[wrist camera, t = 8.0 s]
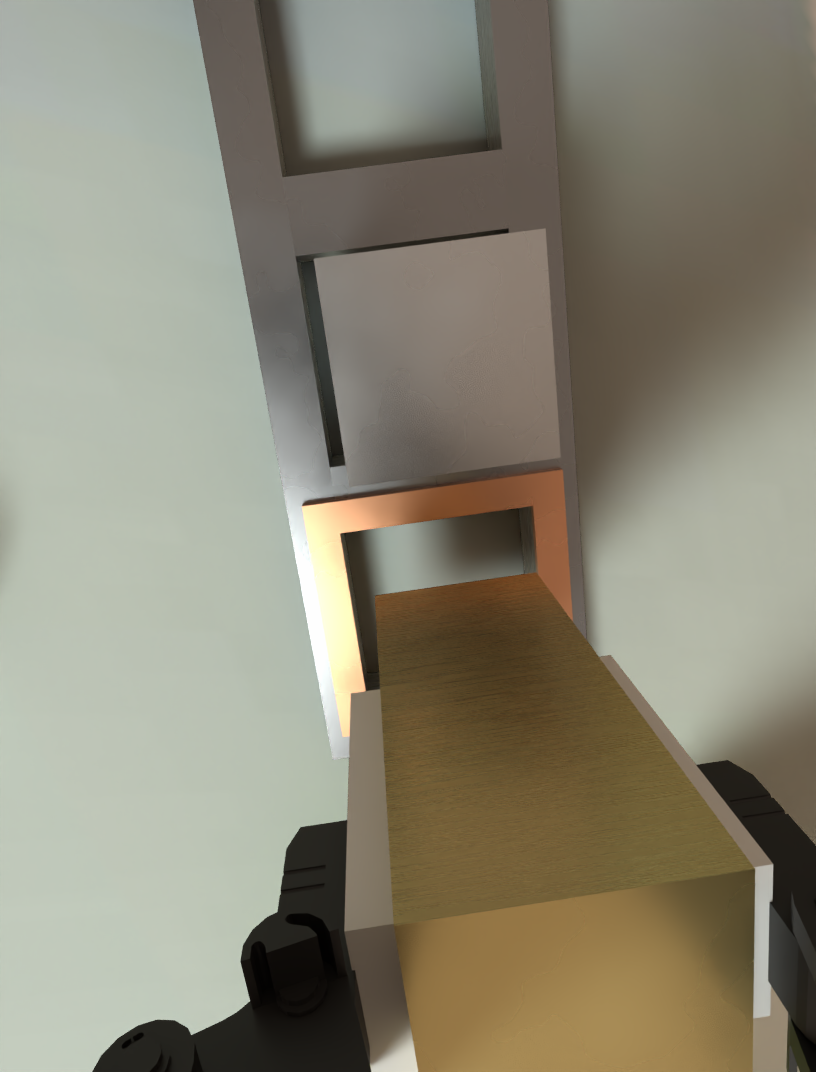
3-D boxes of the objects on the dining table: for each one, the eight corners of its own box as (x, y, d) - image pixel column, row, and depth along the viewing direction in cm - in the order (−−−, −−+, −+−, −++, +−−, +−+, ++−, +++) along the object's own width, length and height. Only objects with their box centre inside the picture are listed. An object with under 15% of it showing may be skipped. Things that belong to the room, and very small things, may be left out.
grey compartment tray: (179, -133, 19) (155, -195, 16) (515, -171, 19) (537, -238, 17) (334, 728, 26) (332, 764, 24) (574, 692, 26) (594, 725, 24)
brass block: (374, 595, 19) (393, 925, 8) (536, 572, 19) (755, 868, 9) (396, 738, 20) (437, 1182, 10) (547, 715, 20) (752, 1130, 10)
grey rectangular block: (331, 286, 22) (313, 259, 13) (471, 268, 22) (545, 228, 13) (352, 428, 23) (348, 487, 14) (485, 410, 23) (560, 457, 15)
